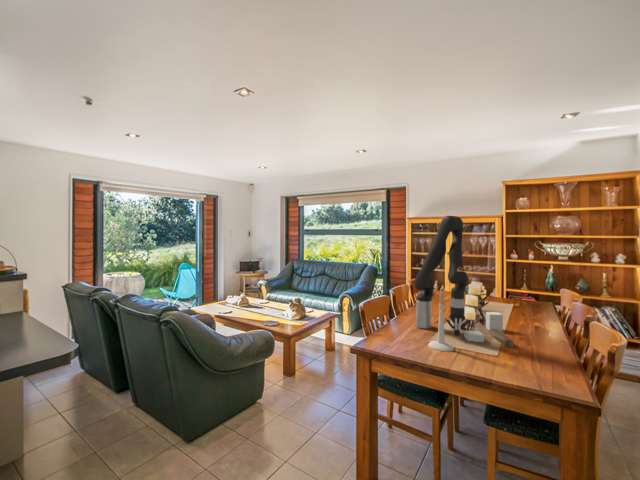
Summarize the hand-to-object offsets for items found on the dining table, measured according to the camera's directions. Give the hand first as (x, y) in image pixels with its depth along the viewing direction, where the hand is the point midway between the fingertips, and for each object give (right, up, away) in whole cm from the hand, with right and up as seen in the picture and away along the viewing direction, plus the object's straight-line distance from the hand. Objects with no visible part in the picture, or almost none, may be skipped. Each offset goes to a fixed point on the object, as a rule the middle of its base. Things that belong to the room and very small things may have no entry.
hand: (456, 335), depth 179 cm
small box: (+31, -2, +16) cm, 35 cm away
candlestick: (-14, -2, -13) cm, 20 cm away
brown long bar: (+24, -2, -3) cm, 24 cm away
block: (+9, -2, -1) cm, 10 cm away
